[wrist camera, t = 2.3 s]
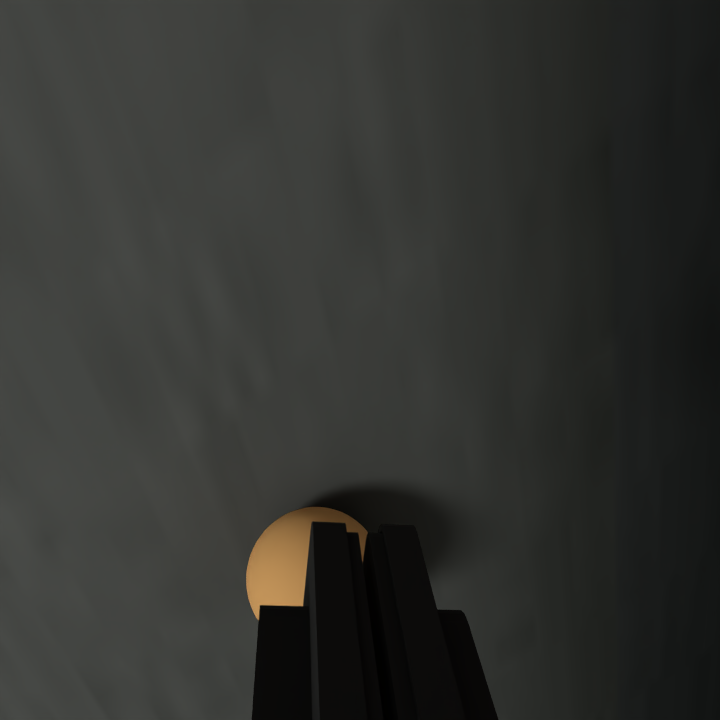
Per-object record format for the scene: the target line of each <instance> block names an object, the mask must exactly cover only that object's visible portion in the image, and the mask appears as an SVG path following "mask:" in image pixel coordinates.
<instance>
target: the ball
mask: <svg viewBox="0 0 720 720" xmlns="http://www.w3.org/2000/svg"><path fill="white" fill-rule="evenodd" d="M312 521H315V522H340V523H345V524H346V528H347V532H358V534H359V540H360V548H361V555H362V563H363V557H364V550H365V542H366V536H367V534H368V532H367V531H366V529H365V528H364V527H363V526H362V525H361V524H360V523H358V522H357V521H356V520H355V519H353V518H352V517H350V516H349V515H347V514H345V513H343V512H340V511H337V510H334V509H330V508H325V507H308V508H302V509H298V510H295V511H292V512H289V513H287V514H285V515H283V516H282V517H280V518H279V519H277V520H276V521H275V522H273V523H272V524H271V525H270V526H269V527H268V528H267V529H266V530H265V531H264V532H263V534H262V535H261V536H260V538H259V539H258V541H257V542H256V544H255V546H254V548H253V550H252V553H251V555H250V559H249V562H248V567H247V575H246V584H247V592H248V598H249V601H250V604H251V607H252V609H253V612H254V614H255V616H256V617H257V619H258V620H259V610H260V605H277V606H303V600H304V590H305V580H306V570H307V560H308V550H309V540H310V530H311V523H312Z"/></svg>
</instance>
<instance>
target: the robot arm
mask: <svg viewBox="0 0 720 720" xmlns="http://www.w3.org/2000/svg"><path fill="white" fill-rule="evenodd" d="M252 720H498V717H497V714H496V711H495V708H494V704H493V701H492V698H491V695H490V692H489V688H488V685H487V682H486V679H485V676H484V672H483V669H482V666H481V663H480V659H479V656H478V653H477V650H476V647H475V643H474V640H473V637H472V634H471V631H470V627H469V624H468V621H467V619H466V616H465V614H464V613H463V612H462V611H461V610H437V608H436V604H435V600H434V596H433V592H432V588H431V585H430V581H429V577H428V573H427V569H426V565H425V562H424V558H423V554H422V550H421V546H420V542H419V539H418V535H417V531H416V528H415V526H413V525H388V524H381V525H380V527H379V531H378V533H368V534H367V536H366V542H365V550H364V557H363V563H362V555H361V548H360V540H359V534H358V532H347V528H346V524H345V523H340V522H315V521H312V523H311V530H310V540H309V550H308V560H307V570H306V580H305V590H304V600H303V606H277V605H260V610H259V624H258V638H257V652H256V667H255V681H254V695H253V710H252Z"/></svg>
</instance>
